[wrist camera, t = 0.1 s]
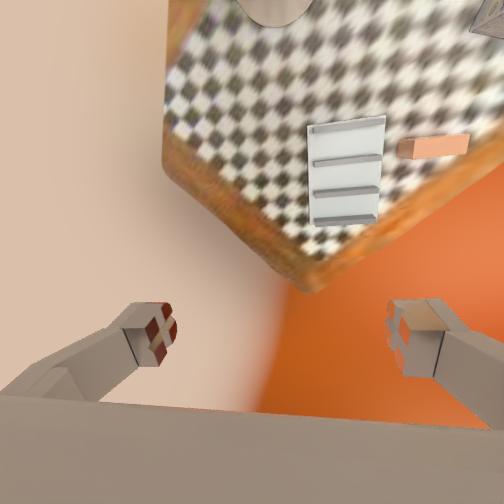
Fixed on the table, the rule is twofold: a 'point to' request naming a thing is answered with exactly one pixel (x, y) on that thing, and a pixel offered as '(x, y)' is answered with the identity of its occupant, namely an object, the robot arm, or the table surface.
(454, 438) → the robot arm
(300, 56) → the table surface
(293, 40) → the table surface
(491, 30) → the medicine box
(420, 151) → the block
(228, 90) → the table surface
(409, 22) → the table surface
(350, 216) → the rack
